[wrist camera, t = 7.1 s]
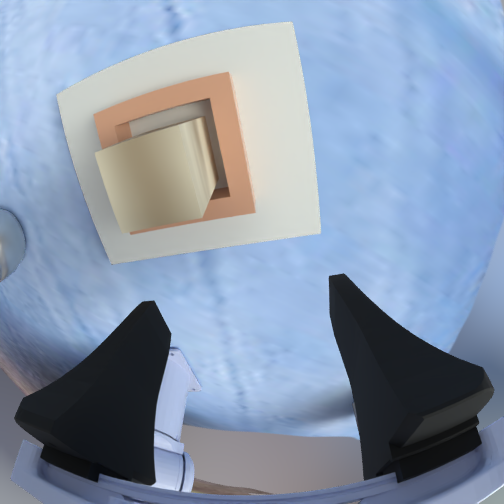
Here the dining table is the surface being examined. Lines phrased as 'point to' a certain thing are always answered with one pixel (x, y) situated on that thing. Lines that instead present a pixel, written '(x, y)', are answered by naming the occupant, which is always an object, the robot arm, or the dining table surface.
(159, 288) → the dining table surface
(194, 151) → the birch peg
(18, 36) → the dining table surface
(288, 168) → the cream flat mat
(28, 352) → the dining table surface
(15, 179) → the dining table surface
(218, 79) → the terracotta holder
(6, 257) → the plastic bottle
